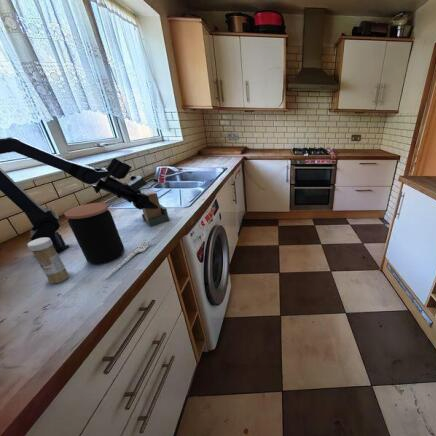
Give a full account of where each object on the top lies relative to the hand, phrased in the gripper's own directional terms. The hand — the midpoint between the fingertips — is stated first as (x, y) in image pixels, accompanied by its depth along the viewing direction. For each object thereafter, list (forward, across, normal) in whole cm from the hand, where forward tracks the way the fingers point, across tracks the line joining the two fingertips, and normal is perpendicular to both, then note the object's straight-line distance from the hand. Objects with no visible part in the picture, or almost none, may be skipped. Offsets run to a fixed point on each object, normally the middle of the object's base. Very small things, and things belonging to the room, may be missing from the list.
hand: (154, 205), depth 102 cm
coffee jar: (-12, -18, +21) cm, 30 cm away
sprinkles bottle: (-20, -22, +30) cm, 42 cm away
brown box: (+4, 0, +6) cm, 7 cm away
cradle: (+4, 0, +6) cm, 7 cm away
